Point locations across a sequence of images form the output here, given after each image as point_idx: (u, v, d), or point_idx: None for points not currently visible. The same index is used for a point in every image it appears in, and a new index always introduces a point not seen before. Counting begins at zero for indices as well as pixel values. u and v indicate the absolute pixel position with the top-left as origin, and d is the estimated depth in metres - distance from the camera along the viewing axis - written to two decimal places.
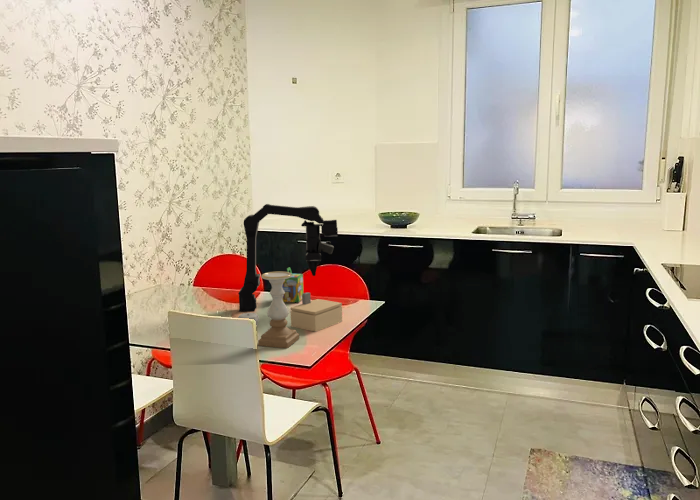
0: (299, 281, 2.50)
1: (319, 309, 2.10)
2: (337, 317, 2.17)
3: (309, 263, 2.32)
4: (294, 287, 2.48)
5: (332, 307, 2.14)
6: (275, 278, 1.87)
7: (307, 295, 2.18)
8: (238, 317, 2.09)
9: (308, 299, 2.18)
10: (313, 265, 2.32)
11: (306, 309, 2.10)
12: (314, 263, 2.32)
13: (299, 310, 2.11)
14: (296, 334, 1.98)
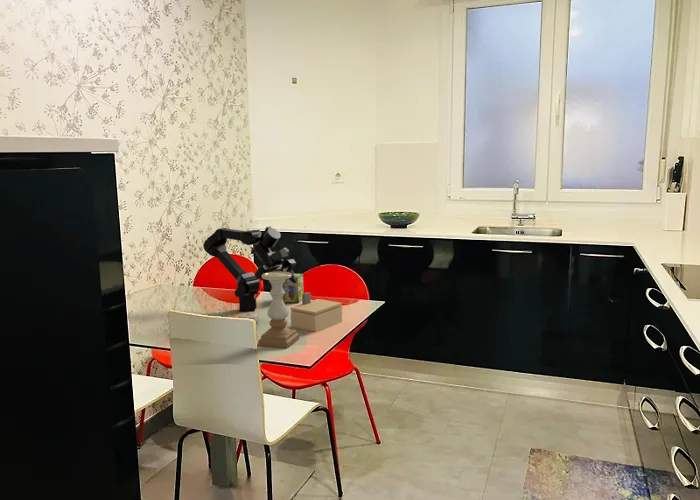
0: (299, 281, 2.50)
1: (319, 309, 2.10)
2: (337, 317, 2.17)
3: None
4: (294, 287, 2.48)
5: (332, 307, 2.14)
6: (275, 278, 1.87)
7: (307, 295, 2.18)
8: (238, 317, 2.09)
9: (308, 299, 2.18)
10: None
11: (306, 309, 2.10)
12: None
13: (299, 310, 2.11)
14: (296, 334, 1.98)
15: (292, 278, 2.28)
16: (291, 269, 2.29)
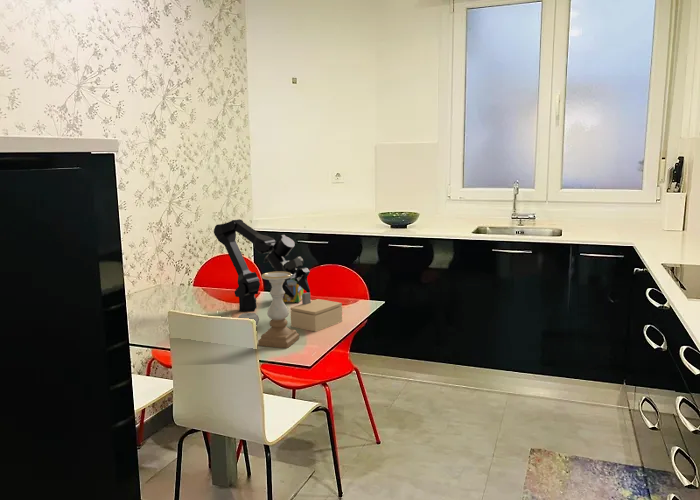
0: None
1: (319, 309, 2.10)
2: (337, 317, 2.17)
3: None
4: (294, 287, 2.48)
5: (332, 307, 2.14)
6: (275, 278, 1.87)
7: (307, 295, 2.18)
8: (238, 317, 2.09)
9: (308, 299, 2.18)
10: (284, 288, 2.17)
11: (306, 309, 2.10)
12: (284, 286, 2.17)
13: (299, 310, 2.11)
14: (296, 334, 1.98)
15: (306, 287, 2.24)
16: (305, 278, 2.25)
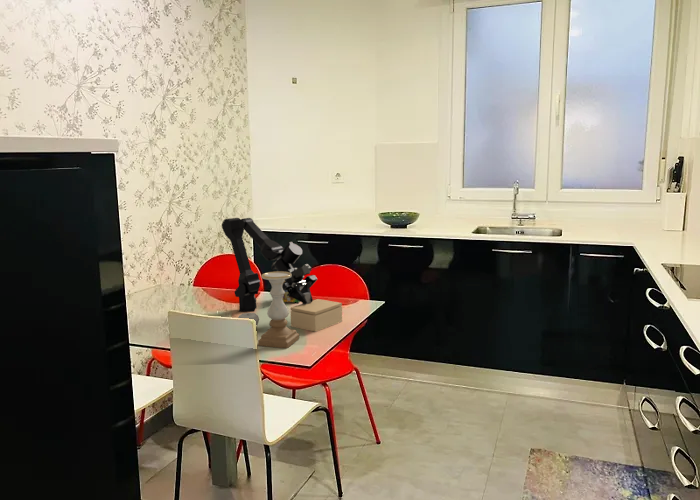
0: None
1: (319, 309, 2.10)
2: (337, 317, 2.17)
3: (292, 295, 2.18)
4: None
5: (332, 307, 2.14)
6: (275, 278, 1.87)
7: (307, 295, 2.18)
8: (238, 317, 2.09)
9: (308, 299, 2.18)
10: (297, 294, 2.17)
11: (306, 309, 2.10)
12: (296, 292, 2.17)
13: (299, 310, 2.11)
14: (296, 334, 1.98)
15: None
16: (308, 287, 2.21)
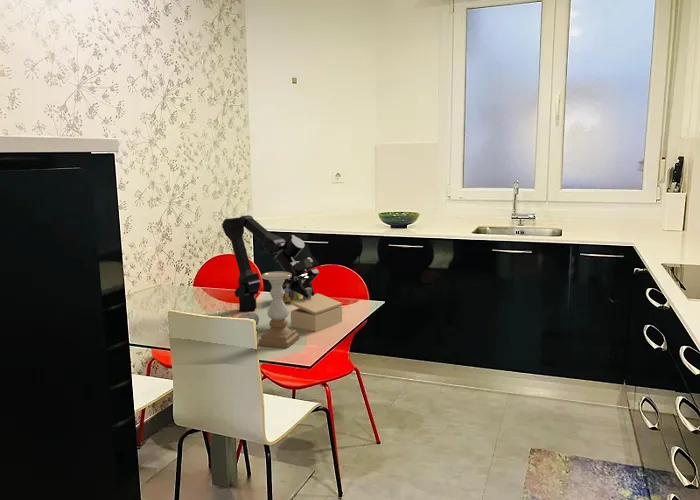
0: None
1: (319, 308, 2.10)
2: (337, 317, 2.17)
3: (294, 289, 2.17)
4: None
5: (332, 307, 2.14)
6: (275, 278, 1.87)
7: (309, 290, 2.17)
8: (238, 317, 2.09)
9: (309, 294, 2.18)
10: (299, 288, 2.16)
11: (306, 306, 2.10)
12: (298, 285, 2.16)
13: (299, 306, 2.10)
14: (296, 334, 1.98)
15: None
16: (309, 280, 2.20)
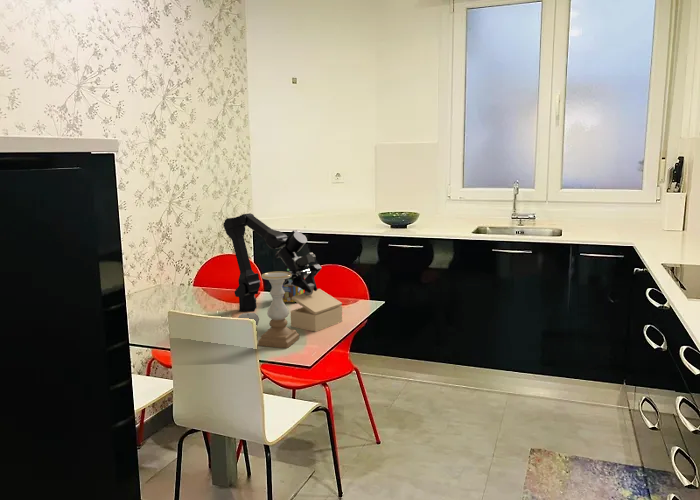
0: None
1: (320, 308, 2.10)
2: (337, 317, 2.17)
3: (297, 284, 2.16)
4: (294, 287, 2.48)
5: (332, 307, 2.14)
6: (275, 278, 1.87)
7: (311, 287, 2.16)
8: (238, 317, 2.09)
9: (311, 290, 2.17)
10: (301, 283, 2.15)
11: (307, 304, 2.10)
12: (301, 281, 2.15)
13: (300, 303, 2.10)
14: (296, 334, 1.98)
15: None
16: (312, 276, 2.19)
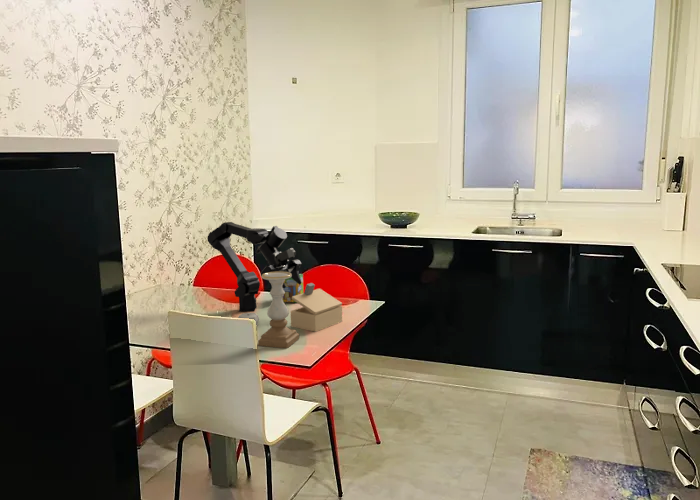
0: None
1: (320, 308, 2.10)
2: (337, 317, 2.17)
3: None
4: (294, 287, 2.48)
5: (332, 307, 2.14)
6: (275, 278, 1.87)
7: (311, 287, 2.16)
8: (238, 317, 2.09)
9: (311, 290, 2.17)
10: None
11: (307, 304, 2.09)
12: None
13: (300, 303, 2.10)
14: (296, 334, 1.98)
15: (297, 279, 2.26)
16: (297, 270, 2.27)
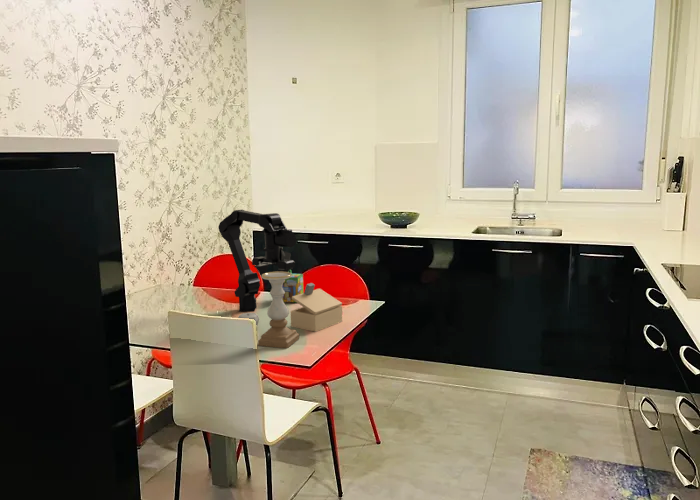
0: (299, 281, 2.50)
1: (320, 308, 2.10)
2: (337, 317, 2.17)
3: None
4: (294, 287, 2.48)
5: (332, 307, 2.14)
6: (275, 278, 1.87)
7: (311, 287, 2.16)
8: (238, 317, 2.09)
9: (311, 290, 2.17)
10: None
11: (307, 304, 2.09)
12: None
13: (300, 303, 2.10)
14: (296, 334, 1.98)
15: None
16: None
